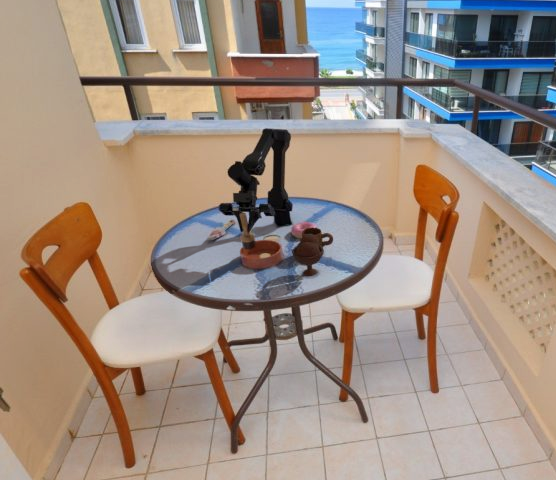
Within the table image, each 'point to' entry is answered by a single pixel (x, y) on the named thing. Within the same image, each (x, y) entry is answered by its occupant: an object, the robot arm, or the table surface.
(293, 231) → the doughnut
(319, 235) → the mug
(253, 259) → the terracotta bowl
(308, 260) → the ice cream bowl
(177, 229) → the table surface
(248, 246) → the dish brush
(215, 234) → the paintbrush
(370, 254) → the table surface
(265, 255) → the biscuit piece
